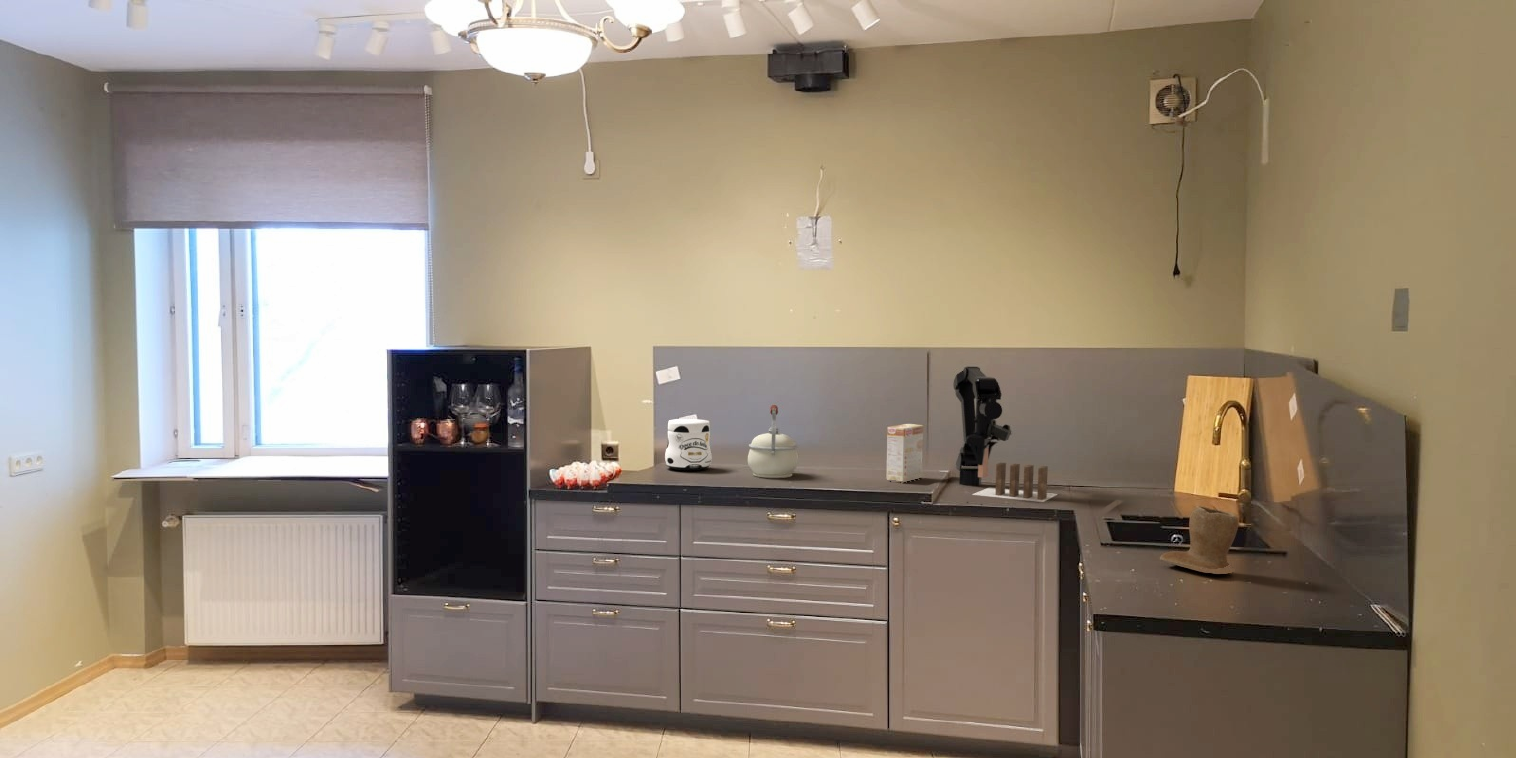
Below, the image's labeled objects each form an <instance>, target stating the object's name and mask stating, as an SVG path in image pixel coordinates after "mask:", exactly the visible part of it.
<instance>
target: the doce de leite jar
mask: <svg viewBox="0 0 1516 758" xmlns="http://www.w3.org/2000/svg"><path fill="white" fill-rule="evenodd" d="M710 430H711V424H710V420H707V419H698V418H697V419H695V418H694V419H693V418H678V419H670V420H668V423H667V447H666V449H665V454H664V459H665V465H666V466H667V467H668V468H670V469H673V470H676V471H677V470H679V471H699V470H705V469H707V468H709V467H710V466H711V464H712V459H713V453H712V450H711V444H710V437H711V432H710Z"/></svg>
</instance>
